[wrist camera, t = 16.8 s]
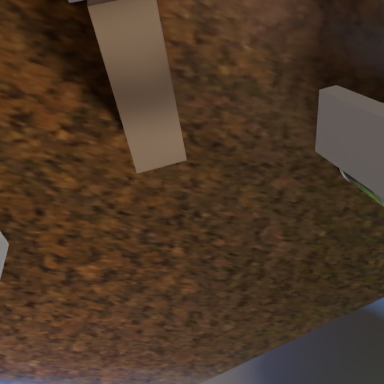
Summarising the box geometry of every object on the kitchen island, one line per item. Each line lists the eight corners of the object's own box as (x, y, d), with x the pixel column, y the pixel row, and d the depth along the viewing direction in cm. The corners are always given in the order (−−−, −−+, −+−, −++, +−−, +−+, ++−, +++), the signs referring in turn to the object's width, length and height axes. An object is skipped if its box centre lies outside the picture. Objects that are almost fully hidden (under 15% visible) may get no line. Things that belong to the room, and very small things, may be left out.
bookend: (177, 116, 29) (203, 155, 23) (111, 133, 28) (119, 178, 22) (127, -151, 20) (146, -216, 13) (24, -136, 19) (-9, -198, 12)
